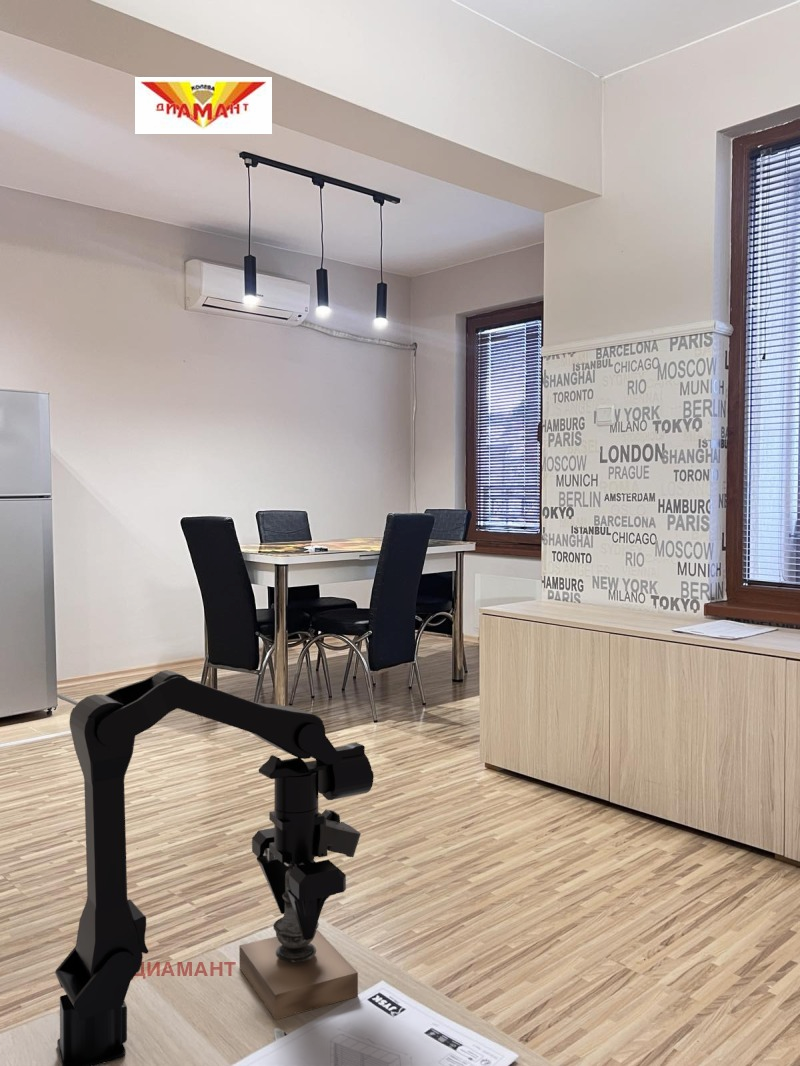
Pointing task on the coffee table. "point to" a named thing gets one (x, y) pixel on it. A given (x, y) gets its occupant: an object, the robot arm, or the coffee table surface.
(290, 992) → the block
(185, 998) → the coffee table surface
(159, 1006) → the coffee table surface
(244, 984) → the coffee table surface
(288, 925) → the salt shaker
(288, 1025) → the coffee table surface
